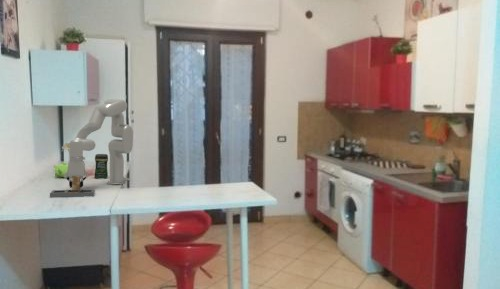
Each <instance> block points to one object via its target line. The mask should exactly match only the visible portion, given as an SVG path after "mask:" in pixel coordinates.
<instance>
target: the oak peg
mask: <svg viewBox="0 0 500 289" xmlns="http://www.w3.org/2000/svg"><path fill="white" fill-rule="evenodd" d="M71 180H72V188H71V190H81V188H80V182H81V179H80V176H72V179H71Z"/></svg>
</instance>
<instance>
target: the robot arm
mask: <svg viewBox="0 0 500 289" xmlns="http://www.w3.org/2000/svg"><path fill="white" fill-rule="evenodd" d="M127 108H128V103H127V102H126V100H124V99H116V98H115V99H113V98H112V99H106V100H105V101H104V103H100V104H99V103H98V104H97V105H95V106H94V108H93V110H92V112H91V115H90V118H89V119H88V122H87V123H86V124H85V125H84V126H82V128H80V130H79V131H78V132H77V134H76V136H75V139H71V140H70V141H69V143H70V148H69V149H70V161H69V160H68V162H69V163H68V162H67V164H68V171H67V173H66V174H65V175H64V176H63V177H62V178H64V177H65V178H64V179H65V180H67V181H68V186H69V189H72V176H80V189H82V188H83V187H84V181H85V180H86V179H87V178H88V177H90V174H88V173H87V171H86V164H85V160H86V157H84V154H83V152H85V151H88V152H90V151H93V150H95V148H96V142H95V141H94V140H93V139H89V138H87V137H88V136H89V135H90V134H92V133H94V132H97V131H98V130H100V129H101V128H102V126H103V123H104V121H105V119H106V117H107V118H110V119H111V128H110V130H111V133H110V134H111V136H112V137H114V139H111V140H110V141H109V142H108V145H107V146H108V152H109V180H108V181H107V182H106V183H108V185H111V184H120V185H125V184H126V183H127V182H130V181H131V178H130V177H125V176H124V171H125V170H124V165H125V164H124V163H125V159H124V155H125V154H130V153H131V152H132V151H133V146H134V144H133V143H134V130H133V127H132V126H131V125H129V124H125V116H124V112H125V111H126V110H127ZM115 138H116V139H115ZM120 138H121V139H120ZM123 154H124V155H123ZM67 175H68V177H67Z"/></svg>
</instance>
